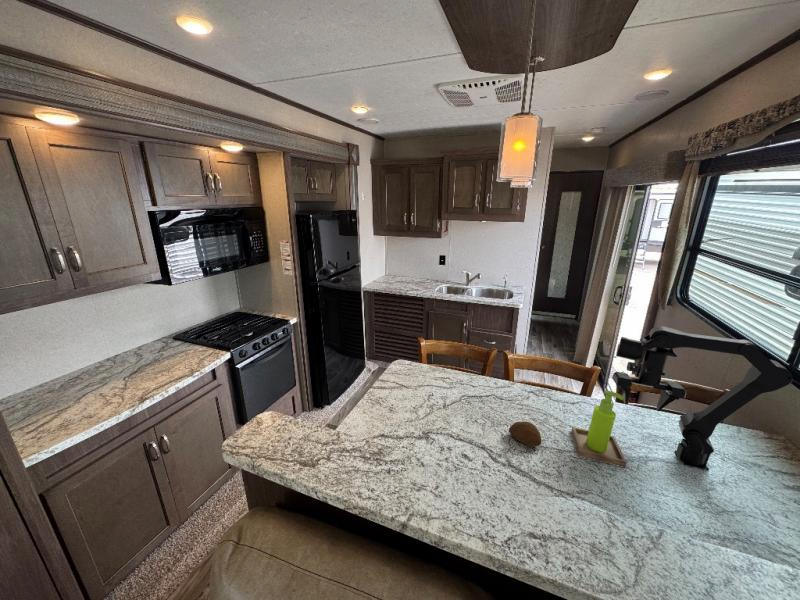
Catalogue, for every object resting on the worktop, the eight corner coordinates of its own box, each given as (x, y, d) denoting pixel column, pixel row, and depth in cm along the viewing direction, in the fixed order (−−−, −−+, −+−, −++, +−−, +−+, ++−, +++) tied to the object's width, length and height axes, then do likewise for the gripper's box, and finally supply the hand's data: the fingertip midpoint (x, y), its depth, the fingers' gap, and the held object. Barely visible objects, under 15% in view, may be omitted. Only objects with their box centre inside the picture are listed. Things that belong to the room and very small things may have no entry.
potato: (511, 429, 110) (514, 411, 109) (543, 442, 104) (546, 424, 103) (505, 439, 105) (508, 421, 103) (537, 454, 99) (541, 435, 97)
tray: (612, 441, 107) (614, 436, 106) (625, 467, 95) (626, 462, 95) (571, 431, 111) (572, 426, 110) (578, 455, 99) (579, 450, 99)
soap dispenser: (607, 457, 98) (623, 400, 93) (583, 445, 103) (597, 391, 98) (611, 448, 102) (626, 394, 97) (588, 437, 107) (601, 385, 102)
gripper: (676, 360, 106) (663, 401, 110) (612, 350, 111) (603, 389, 115) (693, 375, 95) (679, 419, 99) (623, 362, 101) (611, 405, 105)
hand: (641, 407), depth 105 cm, fingers open, 9 cm apart
